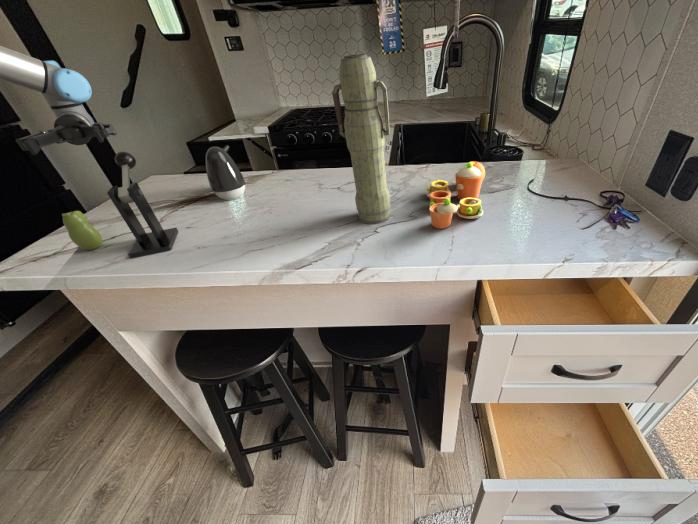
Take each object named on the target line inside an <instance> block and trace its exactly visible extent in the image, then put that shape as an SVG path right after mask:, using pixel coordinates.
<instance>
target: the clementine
mask: <svg viewBox="0 0 698 524" xmlns="http://www.w3.org/2000/svg"><path fill="white" fill-rule="evenodd" d="M470 162H471V163H472V166H473V167H476V168H477V169H479V171H481V172H482V173H483V179H482V182H483V181H484V179H485V176H486V171H485V170H486V169H485V167H484V165H483V164H482V163H481V162H479V161H476V160H473V161H470ZM466 166H467V163H465V165H464V166H463V167H466Z"/></svg>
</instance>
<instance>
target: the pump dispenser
mask: <svg viewBox="0 0 698 524" xmlns="http://www.w3.org/2000/svg"><path fill="white" fill-rule="evenodd" d="M230 148H231V147H230V146H229V145H228V144H226V145H225V146H224V147H223V148H221V147H219V146H210V147H209V148H208V149H207V151H206V153H205V173H206V176H207V177H206V178H207V181H208V184H209V186H210V189H211V191H212V192H213V193H214V194H215V195H216V196H217V197H218V198H220V199H222V200H226V201H233V200H237V199H240V197H242V196H243V195H244V193H245V190H246V180H245V178H244V176H243V174H242V172H241V170H240V168H239V167H238V165H237V163H236V162H235V160H234V159H233V158H232V157H231V156H230V154H229V153H228V151H229V150H230Z"/></svg>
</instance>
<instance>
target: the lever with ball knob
mask: <svg viewBox="0 0 698 524" xmlns="http://www.w3.org/2000/svg"><path fill="white" fill-rule="evenodd" d="M114 161H115V164H116V165H117V166H118V167H119V168H121V180H122V183H121V184H122V186H120V187H119V186H118V187H119V188H118V197H119V198H120V199H121V200H122V201H123V202H124V203H125V204H126V203H128V204H131V203H135V202H134V201H133V199H132V197H131V195H130V194H129V192H128V190H127V188H128V187H129V186H130V185H131V177H130V176H131V174H130V173H131V172H130V170H133V169H134V168H135V167H136V165H137V160H136V158H135V157H134V155H132V154H131V153H129V152H127V151H119V152H117V153H116V154H115V155H114Z"/></svg>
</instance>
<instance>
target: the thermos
mask: <svg viewBox="0 0 698 524" xmlns="http://www.w3.org/2000/svg"><path fill="white" fill-rule="evenodd" d="M339 63H340V64H339V72H338V73H339V75H338V76H339V83H338V84H335V85H334V87H333V89H332V92H331V96H332V100H333V101H332V102H333V105H334V112H335V116H336V121H337V126H338V134H339V135H340V136H341V137H343V138H344V139H345V142H346V147H347V150H348V152H349V153H350V154H349V155H350V160H351V166H352V173H353V178H354V179H353V181H354V186H355V192H356V193H355V197H354V199H355V206H356V211H357V214H358V220H359V222H360V223H361V222H362V223H363V224H369V225H373V224H382V223H384V222H386V221H388V220H389V219H391V217H392V212H391V206H392V205H391V194H390V191H389V188H388V185H387V173H386V172H387V171H386V162H385V150H384V149H385V145H386V140H385V137H386V136H389V135H390V132H391V131H390V130H391V129H390V127H391V126H390V113H389V101H388V99H389V98H388V88H387V86H386V85H385V83H384V82H383V80H379V79H377V73H376V72H377V71H376V69H375V66H374V63H373V60H372V57H371V56H369V55H367V53H362V54H361V53H359V54H350V55H343V58H340V62H339ZM378 87H380V89H381V90H382V100H383V111H384V119H383V117H382V114H381V112H380V105H379V104H378V99H379V94H378V93H379V92H378ZM340 90H341V96H342V97H341V98H342V102H343V103H344V108H343V110H344V117H343V112H342V105H341V99H340ZM343 118H344V119H343ZM384 122H385V123H384ZM384 125H385V127H384Z"/></svg>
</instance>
